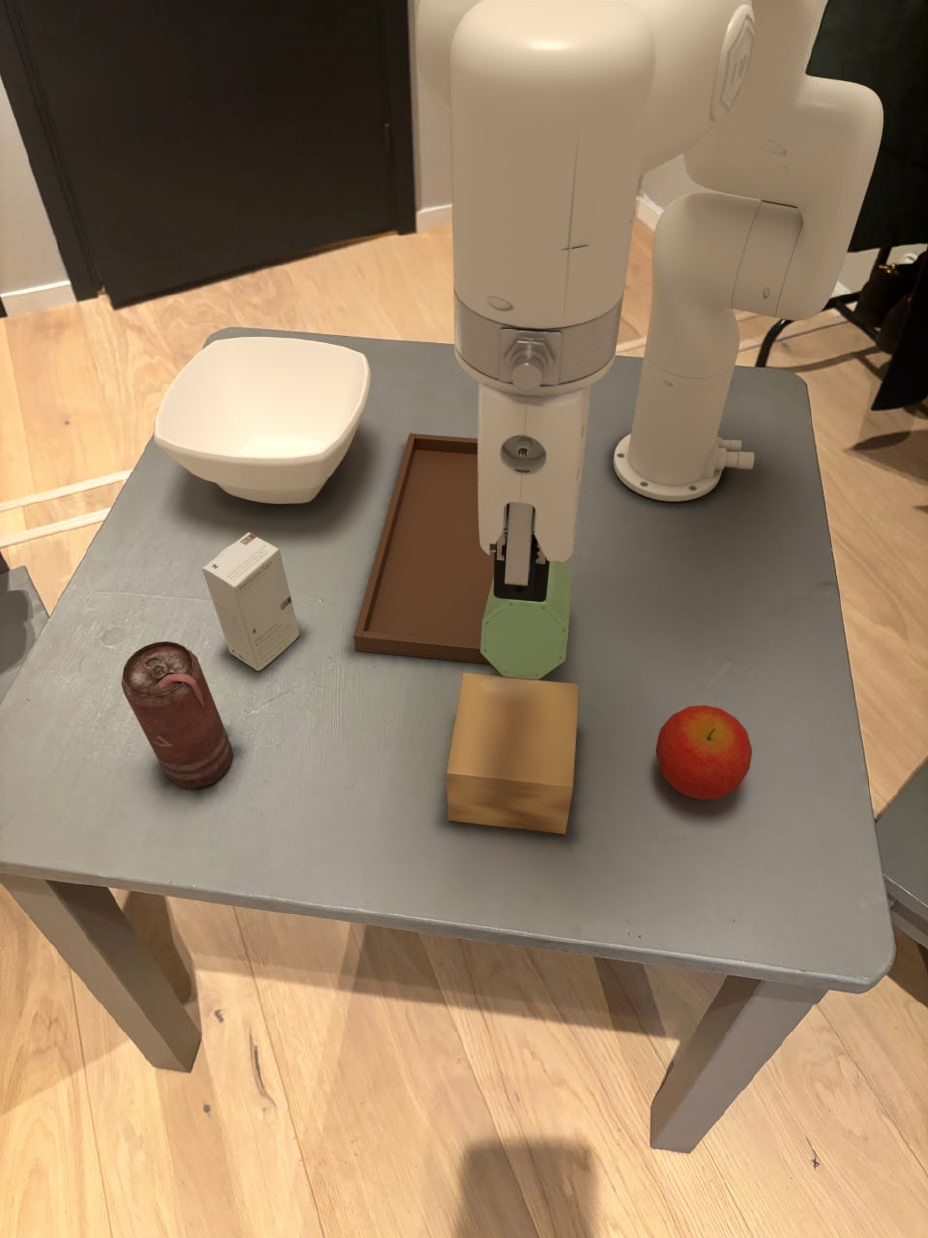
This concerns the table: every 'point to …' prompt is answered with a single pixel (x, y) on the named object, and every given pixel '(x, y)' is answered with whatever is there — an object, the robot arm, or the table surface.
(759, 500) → the table surface
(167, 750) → the can
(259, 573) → the cosmetic box
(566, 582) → the green cup
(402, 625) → the tray
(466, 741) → the block
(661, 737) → the apple
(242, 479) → the bowl
